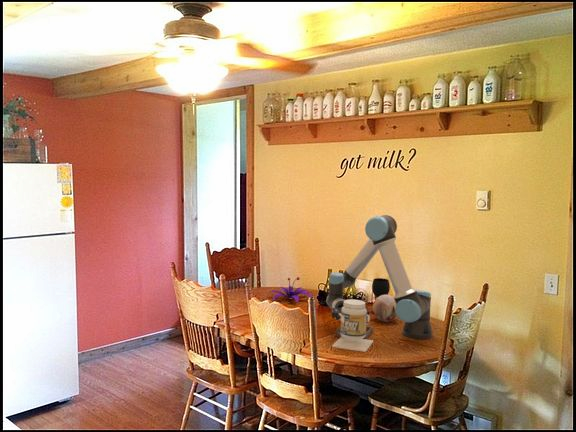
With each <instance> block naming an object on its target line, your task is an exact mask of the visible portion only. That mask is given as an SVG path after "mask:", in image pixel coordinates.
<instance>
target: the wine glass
mask: <svg viewBox="0 0 576 432" xmlns="http://www.w3.org/2000/svg"><path fill="white" fill-rule="evenodd" d="M390 285H391V284H390V279H388V278H384V277H380V278H379V277H376V278H373V280H372V284H371V290H372V293H373V295H374V297H376V299H377V298H378V297H379V296H381V295H389V293H390V290H391V287H390ZM370 312H371V314H372V315H373V314H374V312H373V310H371V311H370ZM374 315H375V314H374Z"/></svg>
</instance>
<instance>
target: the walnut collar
mask: <svg viewBox="0 0 576 432" xmlns="http://www.w3.org/2000/svg"><path fill="white" fill-rule="evenodd" d="M340 331H341V325H339V326H338V327H337V329H335V330H334V337H338V338H340V337H341V334H340ZM373 332H374V326H368V325H366V336H365V337H364V338H363V339H367V340H368V339H369V337H370V336H371V335H372V334H373Z"/></svg>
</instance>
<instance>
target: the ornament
mask: <svg viewBox="0 0 576 432" xmlns="http://www.w3.org/2000/svg"><path fill="white" fill-rule="evenodd" d="M395 308H396V303H395V300H394V296H393V295H390V294H388V295H381V296H379V297H378V298H377V297H376V298H375V300H374V301H373V305H372V311H373V312H374V316H375V318H377V319H378V320H379V321H381V322H385V323H387V322H392V321H395V319H397V318H398V316H397V314H396V311H395Z"/></svg>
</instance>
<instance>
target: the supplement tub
mask: <svg viewBox="0 0 576 432" xmlns="http://www.w3.org/2000/svg"><path fill="white" fill-rule="evenodd" d="M343 305H344V306H343V307H342V310H341V314H342V315H343V316H344V317H345V319H344V323H343V322H342V321H340V326H341V331H340V334H341V336H342V337H344V338H346V339H351V340H360V339H363V338H364V337H365V336H366V332H367V331H366V326H367V321H366V318H367V311H368V310H367V308H366V302H365V301H364V300H360V299H350V298H349V299H344V304H343Z"/></svg>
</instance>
